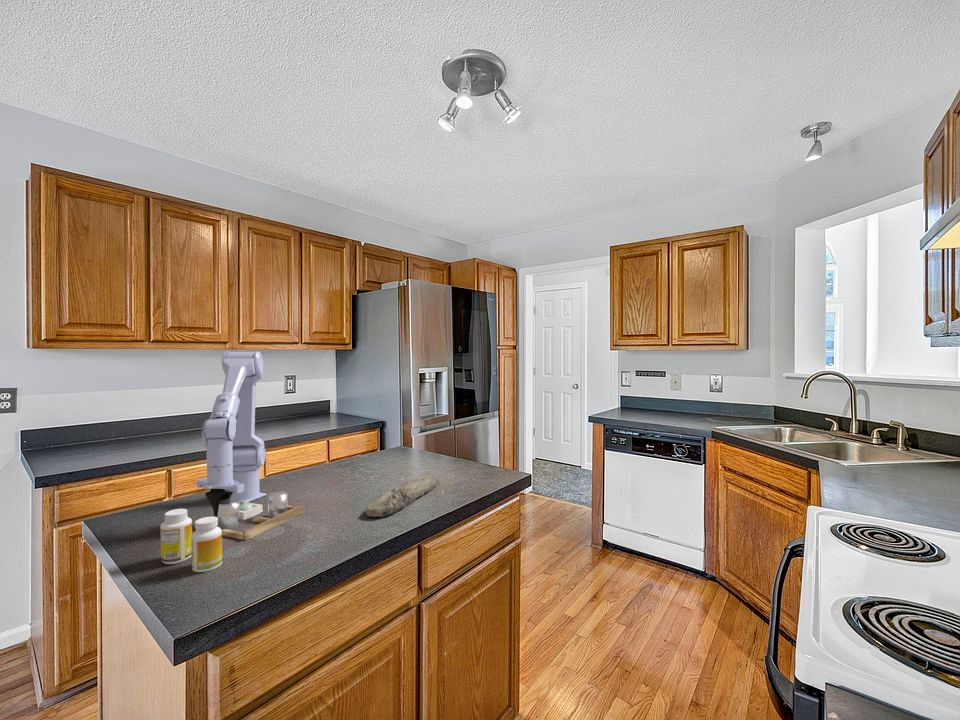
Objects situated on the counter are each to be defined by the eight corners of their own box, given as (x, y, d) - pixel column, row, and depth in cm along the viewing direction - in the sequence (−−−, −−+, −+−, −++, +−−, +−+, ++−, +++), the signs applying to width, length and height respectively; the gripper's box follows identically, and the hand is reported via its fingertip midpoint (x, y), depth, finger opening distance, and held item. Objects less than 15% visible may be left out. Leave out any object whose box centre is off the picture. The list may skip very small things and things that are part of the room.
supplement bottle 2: (228, 562, 92) (227, 516, 92) (205, 575, 87) (204, 526, 87) (209, 558, 94) (208, 513, 94) (185, 570, 89) (184, 523, 89)
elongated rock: (447, 488, 146) (420, 486, 150) (446, 472, 147) (420, 471, 150) (388, 521, 114) (356, 517, 117) (387, 500, 114) (355, 497, 118)
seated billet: (263, 518, 116) (263, 496, 116) (278, 512, 121) (277, 490, 121) (277, 521, 115) (277, 498, 115) (291, 514, 119) (291, 492, 119)
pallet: (221, 535, 106) (221, 527, 106) (282, 508, 124) (282, 501, 124) (246, 540, 103) (245, 532, 103) (304, 512, 121) (304, 505, 121)
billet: (211, 525, 110) (214, 503, 110) (228, 518, 115) (230, 496, 114) (226, 531, 109) (228, 508, 108) (242, 524, 113) (245, 501, 113)
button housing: (227, 517, 118) (227, 509, 118) (246, 509, 123) (246, 502, 123) (243, 520, 115) (243, 512, 115) (262, 512, 121) (262, 504, 121)
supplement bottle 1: (187, 550, 98) (186, 505, 98) (196, 558, 94) (195, 511, 94) (157, 560, 94) (156, 512, 93) (165, 568, 90) (164, 518, 90)
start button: (234, 514, 118) (234, 506, 118) (245, 509, 122) (245, 502, 122) (244, 516, 117) (244, 508, 117) (255, 511, 120) (255, 504, 120)
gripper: (184, 465, 111) (185, 519, 111) (226, 471, 106) (226, 527, 106) (210, 459, 118) (211, 510, 118) (251, 464, 113) (251, 517, 113)
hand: (220, 517), depth 113 cm, fingers closed, pressing on billet
